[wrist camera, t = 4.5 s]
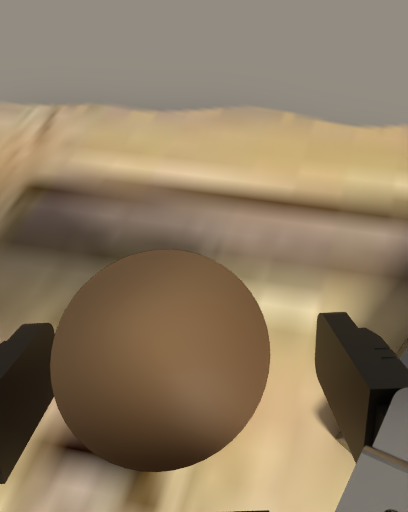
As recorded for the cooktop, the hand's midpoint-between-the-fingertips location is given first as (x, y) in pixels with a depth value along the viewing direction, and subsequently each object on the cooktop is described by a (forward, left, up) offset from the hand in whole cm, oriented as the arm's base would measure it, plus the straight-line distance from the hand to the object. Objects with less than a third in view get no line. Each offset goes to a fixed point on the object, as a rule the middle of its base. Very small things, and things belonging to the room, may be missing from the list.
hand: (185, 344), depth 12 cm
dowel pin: (+1, -1, -6) cm, 6 cm away
